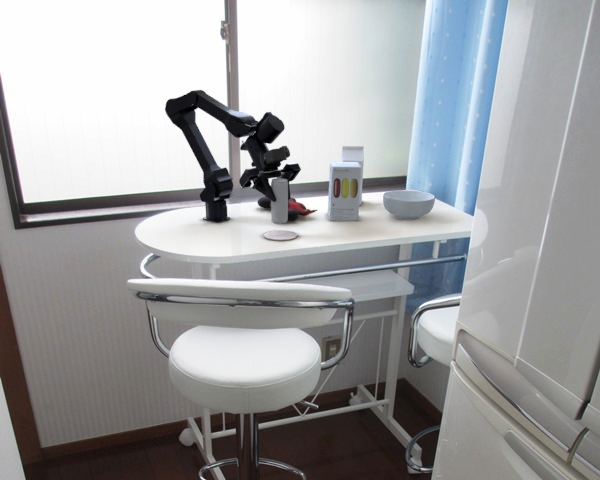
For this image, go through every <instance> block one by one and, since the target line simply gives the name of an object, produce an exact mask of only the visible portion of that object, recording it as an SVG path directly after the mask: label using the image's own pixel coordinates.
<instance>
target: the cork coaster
mask: <svg viewBox="0 0 600 480" xmlns="http://www.w3.org/2000/svg"><path fill="white" fill-rule="evenodd" d="M263 237H264V239H266V240H269V241H272V242H273V241H275V242H286V241H293V240H295V239H297V238H298V234H297V233H296V232H295V231H291V230H283V229H282V230H277V229H276V230H270V231H267V232H265V233H264V234H263Z"/></svg>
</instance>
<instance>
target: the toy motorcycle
mask: <svg viewBox="0 0 600 480" xmlns="http://www.w3.org/2000/svg"><path fill="white" fill-rule="evenodd" d="M257 205H258V207H260V208H262V209H266V210H271V200H270V199H269V198H268V197H266V196H265V195H263V196H262V197H259V199H258V200H257ZM317 211H318V209H312V210H311V209H309V208H307V207H306V205H304V203H302V202H299V201H297V200H296V198H294V197H291V198H290V199H289V200H288V220H287V222H286V223H288V222H289V223H290V222H293V221H296V220H298V218H299V217H300V216H301V217H306V216H309V215H311V214H313V213H315V212H317Z"/></svg>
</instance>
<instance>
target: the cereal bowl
mask: <svg viewBox="0 0 600 480" xmlns="http://www.w3.org/2000/svg"><path fill="white" fill-rule="evenodd" d="M435 201H436V196H435V195H434V194H432V193H430V192H426V191H421V190H407V189H406V190H390V191H389V190H388V191H385V192H384V193H383V194H382V203H383V207H384V209H385V210H386V211H387V212H388V213H389V214H391V215H393V216H394V217H395V219H399V220H404V221H405V220H406V221H409V220H410V221H413V220H417V219H419V218H420V217H422V216H425V215H428V214H429V213H430V212H431V211H432V210H433V209H434V206H435V203H436V202H435Z"/></svg>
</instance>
